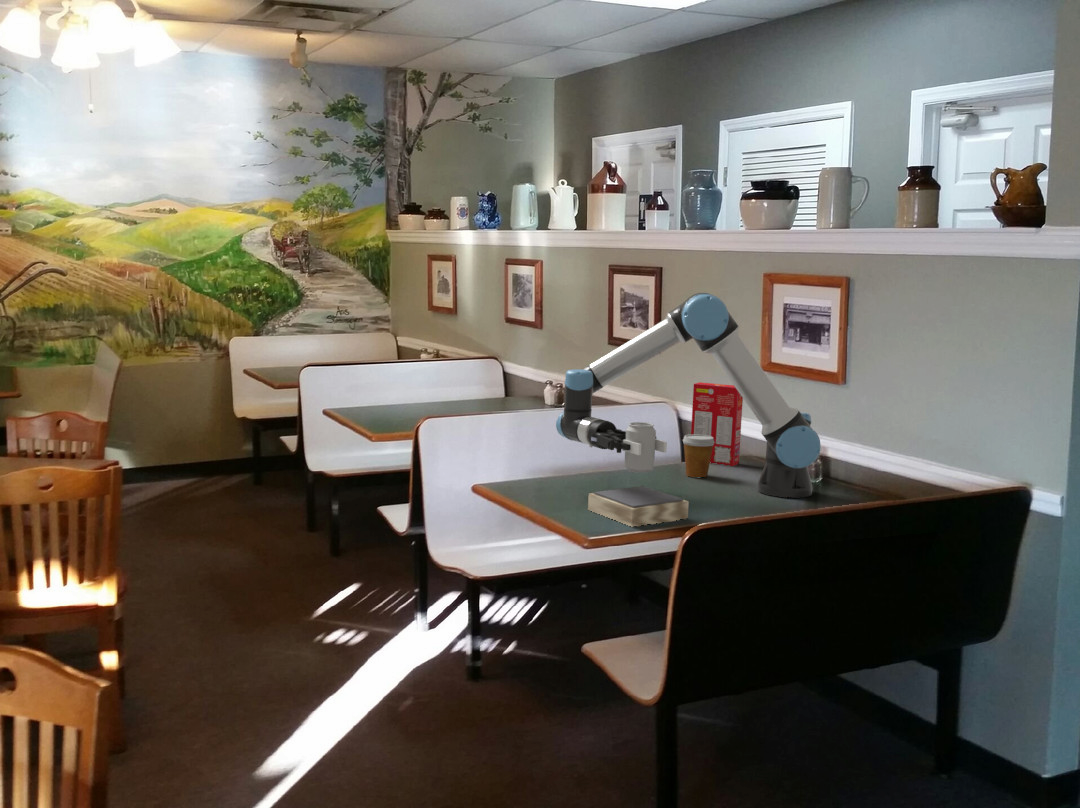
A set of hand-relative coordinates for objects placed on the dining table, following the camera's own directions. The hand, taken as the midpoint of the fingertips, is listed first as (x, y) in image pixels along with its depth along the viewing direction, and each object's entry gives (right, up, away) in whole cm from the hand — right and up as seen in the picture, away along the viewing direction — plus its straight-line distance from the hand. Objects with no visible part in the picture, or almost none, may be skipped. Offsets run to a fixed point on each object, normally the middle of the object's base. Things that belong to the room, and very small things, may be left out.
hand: (652, 448), depth 260 cm
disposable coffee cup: (+19, -11, +55) cm, 60 cm away
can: (-3, -6, +5) cm, 8 cm away
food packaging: (+28, -8, +78) cm, 83 cm away
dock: (-3, -17, +7) cm, 19 cm away
